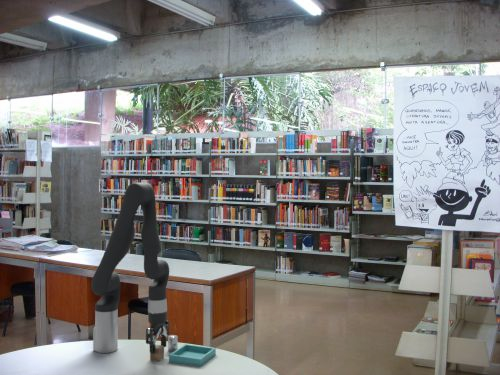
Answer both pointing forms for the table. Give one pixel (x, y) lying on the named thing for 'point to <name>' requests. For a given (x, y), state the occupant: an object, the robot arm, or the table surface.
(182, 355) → the parts tray
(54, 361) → the table surface
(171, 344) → the metal cylinder
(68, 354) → the table surface
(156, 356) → the walnut block
